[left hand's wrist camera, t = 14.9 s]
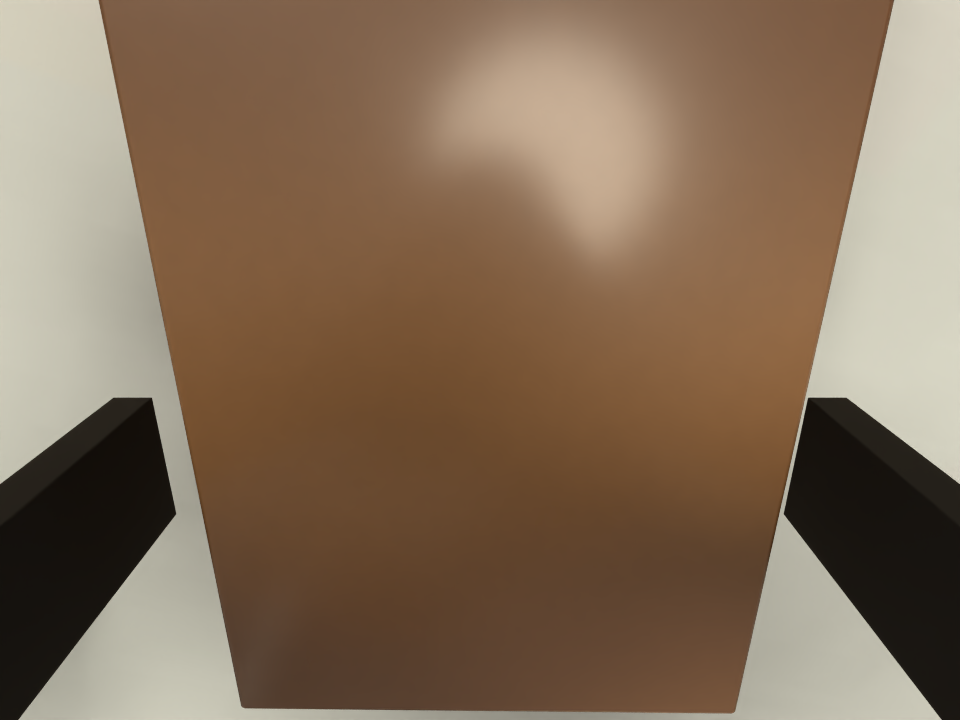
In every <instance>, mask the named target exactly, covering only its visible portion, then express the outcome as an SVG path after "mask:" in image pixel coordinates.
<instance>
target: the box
mask: <svg viewBox="0 0 960 720" xmlns="http://www.w3.org/2000/svg"><path fill="white" fill-rule="evenodd" d="M893 2H894V0H99V4H100V9H101V14H102V19H103V24H104V29H105V34H106V39H107V44H108V49H109V54H110V59H111V64H112V69H113V74H114V78H115V83H116V88H117V93H118V98H119V103H120V108H121V113H122V118H123V123H124V128H125V133H126V138H127V143H128V148H129V153H130V158H131V163H132V167H133V172H134V177H135V182H136V187H137V192H138V197H139V202H140V207H141V212H142V217H143V222H144V227H145V232H146V237H147V242H148V247H149V252H150V257H151V261H152V266H153V271H154V276H155V281H156V286H157V291H158V296H159V301H160V306H161V311H162V316H163V321H164V326H165V331H166V336H167V341H168V346H169V351H170V355H171V360H172V365H173V370H174V375H175V380H176V385H177V390H178V395H179V400H180V405H181V410H182V415H183V420H184V425H185V430H186V435H187V440H188V444H189V449H190V454H191V459H192V464H193V469H194V474H195V479H196V484H197V489H198V494H199V499H200V504H201V509H202V514H203V519H204V524H205V529H206V534H207V538H208V543H209V548H210V553H211V558H212V563H213V568H214V573H215V578H216V583H217V588H218V593H219V598H220V603H221V608H222V613H223V618H224V623H225V628H226V632H227V637H228V642H229V647H230V652H231V657H232V662H233V667H234V672H235V677H236V682H237V687H238V692H239V697H240V702H241V706H242V707H243V708H262V709H358V710H453V711H548V712H644V713H734V712H735V709H736V705H737V700H738V696H739V691H740V687H741V683H742V678H743V674H744V669H745V665H746V660H747V656H748V651H749V647H750V642H751V638H752V633H753V629H754V624H755V620H756V615H757V611H758V606H759V602H760V598H761V593H762V589H763V584H764V580H765V575H766V571H767V566H768V562H769V557H770V553H771V548H772V544H773V539H774V535H775V530H776V526H777V521H778V517H779V513H780V508H781V504H782V499H783V495H784V490H785V486H786V481H787V477H788V472H789V468H790V463H791V459H792V454H793V450H794V445H795V441H796V436H797V432H798V428H799V423H800V419H801V414H802V410H803V405H804V401H805V396H806V392H807V387H808V383H809V378H810V374H811V369H812V365H813V360H814V356H815V351H816V347H817V343H818V338H819V334H820V329H821V325H822V320H823V316H824V311H825V307H826V302H827V298H828V293H829V289H830V284H831V280H832V275H833V271H834V266H835V262H836V257H837V253H838V249H839V244H840V240H841V235H842V231H843V226H844V222H845V217H846V213H847V208H848V204H849V199H850V195H851V190H852V186H853V181H854V177H855V172H856V168H857V164H858V159H859V155H860V150H861V146H862V141H863V137H864V132H865V128H866V123H867V119H868V114H869V110H870V105H871V101H872V96H873V92H874V87H875V83H876V79H877V74H878V70H879V65H880V61H881V56H882V52H883V47H884V43H885V38H886V34H887V29H888V25H889V20H890V16H891V11H892V7H893Z"/></svg>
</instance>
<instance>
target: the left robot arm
mask: <svg viewBox="0 0 960 720" xmlns="http://www.w3.org/2000/svg"><path fill="white" fill-rule="evenodd" d="M175 515H176V511H175V506H174V501H173V496H172V491H171V487H170V482H169V477H168V472H167V468H166V463H165V458H164V453H163V449H162V444H161V439H160V434H159V430H158V425H157V420H156V415H155V410H154V406H153V401H152V398H113V399H111V400H110V401H109V402H107V403H106V404H105V405H103V406H102V407H101V408H100V409H98V410H97V411H96V412H94V413H93V414H92V415H90V416H89V417H88V418H86V419H85V420H84V421H83V422H81V423H80V424H79V425H77V426H76V427H75V428H73V429H72V430H71V431H69V432H68V433H67V434H65V435H64V436H63V437H62V438H60V439H59V440H58V441H56V442H55V443H54V444H52V445H51V446H50V447H48V448H47V449H46V450H44V451H43V452H42V453H41V454H39V455H38V456H37V457H35V458H34V459H33V460H31V461H30V462H29V463H27V464H26V465H25V466H23V467H22V468H21V469H20V470H18V471H17V472H16V473H14V474H13V475H12V476H10V477H9V478H8V479H6V480H5V481H4V482H2V483H1V484H0V720H18V719H19V718H20V717H21V715H22V714H23V713H24V712H25V710H26V709H27V708H28V706H29V705H30V704H31V702H32V701H33V700H34V699H35V697H36V696H37V695H38V693H39V692H40V691H41V689H42V688H43V687H44V686H45V684H46V683H47V682H48V680H49V679H50V678H51V676H52V675H53V674H54V673H55V671H56V670H57V669H58V667H59V666H60V665H61V663H62V662H63V661H64V659H65V658H66V657H67V656H68V654H69V653H70V652H71V650H72V649H73V648H74V646H75V645H76V644H77V643H78V641H79V640H80V639H81V637H82V636H83V635H84V633H85V632H86V631H87V630H88V628H89V627H90V626H91V624H92V623H93V622H94V620H95V619H96V618H97V617H98V615H99V614H100V613H101V611H102V610H103V609H104V607H105V606H106V605H107V603H108V602H109V601H110V600H111V598H112V597H113V596H114V594H115V593H116V592H117V590H118V589H119V588H120V587H121V585H122V584H123V583H124V581H125V580H126V579H127V577H128V576H129V575H130V574H131V572H132V571H133V570H134V568H135V567H136V566H137V564H138V563H139V562H140V561H141V559H142V558H143V557H144V555H145V554H146V553H147V551H148V550H149V549H150V548H151V546H152V545H153V544H154V542H155V541H156V540H157V538H158V537H159V536H160V534H161V533H162V532H163V531H164V529H165V528H166V527H167V525H168V524H169V523H170V521H171V520H172V519H173V518H174V516H175ZM784 515H785V516H786V518H787V519H788V520H789V521H790V523H791V524H792V525H793V527H794V528H795V529H796V531H797V532H798V533H799V534H800V536H801V537H802V538H803V540H804V541H805V542H806V544H807V545H808V546H809V548H810V549H811V550H812V551H813V553H814V554H815V555H816V557H817V558H818V559H819V561H820V562H821V563H822V564H823V566H824V567H825V568H826V570H827V571H828V572H829V574H830V575H831V576H832V577H833V579H834V580H835V581H836V583H837V584H838V585H839V587H840V588H841V589H842V590H843V592H844V593H845V594H846V596H847V597H848V598H849V600H850V601H851V602H852V603H853V605H854V606H855V607H856V609H857V610H858V611H859V613H860V614H861V615H862V617H863V618H864V619H865V620H866V622H867V623H868V624H869V626H870V627H871V628H872V630H873V631H874V632H875V633H876V635H877V636H878V637H879V639H880V640H881V641H882V643H883V644H884V645H885V646H886V648H887V649H888V650H889V652H890V653H891V654H892V656H893V657H894V658H895V659H896V661H897V662H898V663H899V665H900V666H901V667H902V669H903V670H904V671H905V673H906V674H907V675H908V676H909V678H910V679H911V680H912V682H913V683H914V684H915V686H916V687H917V688H918V689H919V691H920V692H921V693H922V695H923V696H924V697H925V699H926V700H927V701H928V702H929V704H930V705H931V706H932V708H933V709H934V710H935V712H936V713H937V714H938V715H939V717H940V718H941V719H942V720H960V484H959V483H957V482H956V481H955V480H954V479H952V478H951V477H950V476H948V475H947V474H946V473H944V472H943V471H942V470H940V469H939V468H938V467H937V466H935V465H934V464H933V463H931V462H930V461H929V460H927V459H926V458H925V457H923V456H922V455H921V454H919V453H918V452H917V451H916V450H914V449H913V448H912V447H910V446H909V445H908V444H906V443H905V442H904V441H902V440H901V439H900V438H898V437H897V436H896V435H895V434H893V433H892V432H891V431H889V430H888V429H887V428H885V427H884V426H883V425H881V424H880V423H879V422H877V421H876V420H875V419H874V418H872V417H871V416H870V415H868V414H867V413H866V412H864V411H863V410H862V409H860V408H859V407H858V406H857V405H855V404H854V403H853V402H851V401H850V400H849V399H847V398H808V401H807V406H806V410H805V415H804V420H803V425H802V429H801V434H800V439H799V444H798V449H797V453H796V458H795V463H794V468H793V472H792V477H791V482H790V487H789V491H788V496H787V501H786V506H785V511H784Z"/></svg>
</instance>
